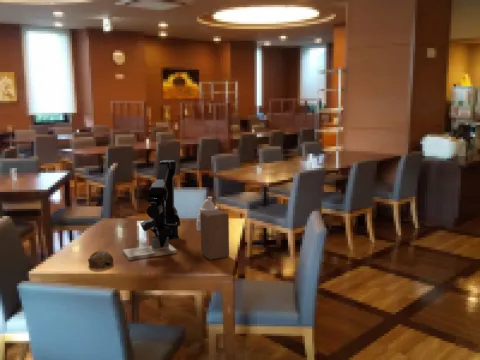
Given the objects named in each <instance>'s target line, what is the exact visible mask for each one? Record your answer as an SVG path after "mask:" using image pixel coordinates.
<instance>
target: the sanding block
mask: <svg viewBox="0 0 480 360" xmlns="http://www.w3.org/2000/svg"><path fill="white" fill-rule="evenodd" d="M169 241H170V239H169V238H168V237H167V239H166V241H165V244H164V246H163V247H161V246H160V242H159V237H158V236H157V237H155V236H151V237H150V246H151V247H152V249H153V250H160V249H166V248H169V244H170V243H169Z"/></svg>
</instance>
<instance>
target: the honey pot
mask: <svg viewBox="0 0 480 360" xmlns="http://www.w3.org/2000/svg"><path fill="white" fill-rule="evenodd" d="M200 206H201V207H198V209H199V211H198V214H197V219H196V230H197V231H198V232H200V233H201V217H200V213H201V212H204V211H212V210H219V209H218V206H216V205H215V204H214V202H213V196H207V198H206V199H205V200H204V201H203V202H202V204H201V205H200Z"/></svg>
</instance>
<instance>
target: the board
mask: <svg viewBox="0 0 480 360" xmlns="http://www.w3.org/2000/svg"><path fill="white" fill-rule="evenodd" d="M177 251H178V250H177V249H176V248H175V247H174V246H173V245H172V244H170V243H169V248H166V249H160V250H153V249H152V247H151V245H147V246H140V247H133V248H125V249H124V248H123V249H122V254H123V255H124V257H126V259H127V260H128V261H134V260H141V259H146V258H153V257H159V256H166V255H174V254H178V252H177Z"/></svg>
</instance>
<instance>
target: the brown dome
mask: <svg viewBox="0 0 480 360" xmlns="http://www.w3.org/2000/svg"><path fill="white" fill-rule="evenodd" d="M87 262H88V265H89V267H90V268H91V269H105V268H106V269H107V267H111V266H112V265H113V264H114V257H113V256H112V255H111V253H109V252H108V251H107V250H106V251H105V250H98V251H95V252H94V253H92V254H91V255H89V258H88V259H87Z"/></svg>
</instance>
